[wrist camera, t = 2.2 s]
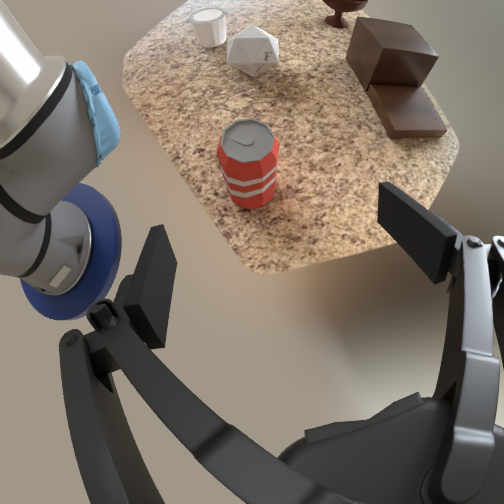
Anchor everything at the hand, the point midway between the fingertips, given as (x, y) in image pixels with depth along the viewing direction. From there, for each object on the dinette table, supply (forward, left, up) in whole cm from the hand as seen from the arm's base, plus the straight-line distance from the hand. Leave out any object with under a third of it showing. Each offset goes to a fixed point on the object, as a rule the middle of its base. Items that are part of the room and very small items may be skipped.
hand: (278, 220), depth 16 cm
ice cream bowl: (-32, +48, -19) cm, 61 cm away
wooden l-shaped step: (-9, +38, -19) cm, 44 cm away
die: (-29, +21, -19) cm, 40 cm away
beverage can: (-10, +5, -19) cm, 22 cm away
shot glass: (-42, +21, -19) cm, 50 cm away
